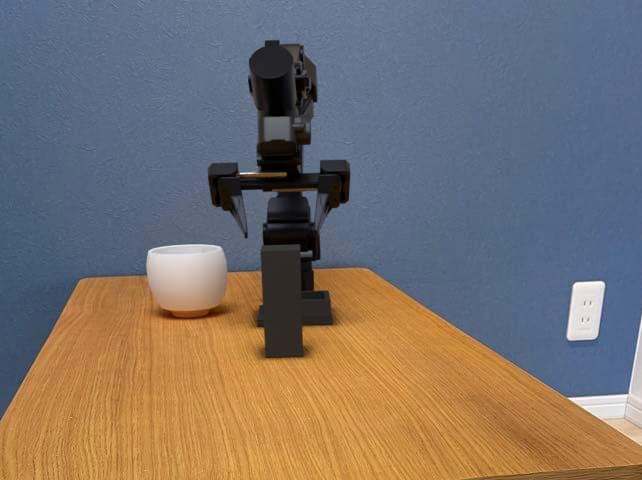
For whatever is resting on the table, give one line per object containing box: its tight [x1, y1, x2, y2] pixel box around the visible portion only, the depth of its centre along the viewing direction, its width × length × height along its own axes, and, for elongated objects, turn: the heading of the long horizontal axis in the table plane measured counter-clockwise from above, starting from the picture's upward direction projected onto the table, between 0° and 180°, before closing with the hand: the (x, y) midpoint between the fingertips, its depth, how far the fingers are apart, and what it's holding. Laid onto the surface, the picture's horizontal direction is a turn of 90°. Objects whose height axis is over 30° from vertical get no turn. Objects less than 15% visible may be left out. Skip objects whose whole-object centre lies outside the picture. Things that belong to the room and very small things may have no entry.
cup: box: [145, 243, 229, 319], centre depth 132 cm, size 12×12×10 cm
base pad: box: [256, 289, 333, 327], centre depth 129 cm, size 11×11×4 cm
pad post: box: [259, 244, 304, 359], centre depth 108 cm, size 5×5×13 cm
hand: (281, 235), depth 112 cm, fingers open, 9 cm apart
